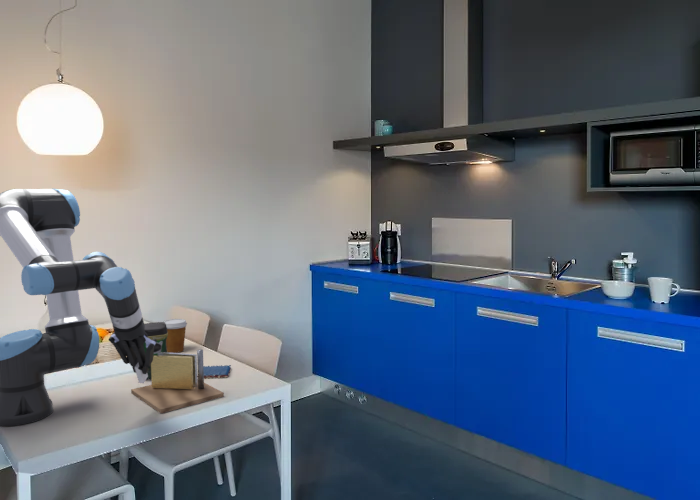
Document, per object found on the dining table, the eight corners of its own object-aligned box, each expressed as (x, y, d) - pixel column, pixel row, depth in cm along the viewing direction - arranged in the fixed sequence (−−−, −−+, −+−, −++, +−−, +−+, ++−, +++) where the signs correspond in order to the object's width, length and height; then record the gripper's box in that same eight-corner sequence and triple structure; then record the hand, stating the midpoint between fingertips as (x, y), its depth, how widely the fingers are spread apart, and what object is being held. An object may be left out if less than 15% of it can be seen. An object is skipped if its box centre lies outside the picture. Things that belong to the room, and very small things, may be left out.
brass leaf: (193, 387, 175) (192, 356, 174) (191, 389, 173) (190, 357, 172) (153, 386, 176) (152, 355, 175) (151, 387, 175) (150, 356, 174)
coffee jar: (168, 371, 196) (166, 319, 195) (170, 377, 189) (168, 324, 187) (139, 374, 193) (137, 321, 191) (140, 381, 185) (138, 326, 183)
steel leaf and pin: (207, 390, 177) (206, 348, 176) (202, 393, 174) (201, 351, 173) (161, 386, 181) (160, 345, 179) (156, 389, 178) (154, 348, 176)
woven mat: (201, 370, 198) (201, 365, 198) (231, 369, 199) (231, 364, 199) (196, 380, 188) (196, 374, 187) (228, 379, 189) (228, 373, 189)
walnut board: (160, 413, 158) (160, 409, 158) (131, 393, 174) (131, 389, 174) (223, 396, 171) (223, 392, 171) (191, 379, 188) (190, 375, 188)
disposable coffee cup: (183, 354, 217) (182, 324, 216) (159, 354, 217) (158, 324, 216) (190, 347, 226) (189, 318, 225) (167, 347, 226) (166, 318, 225)
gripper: (96, 326, 143) (115, 385, 158) (144, 334, 142) (159, 393, 156) (111, 306, 149) (128, 365, 164) (157, 314, 148) (170, 373, 162)
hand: (143, 379), depth 160 cm, fingers closed
